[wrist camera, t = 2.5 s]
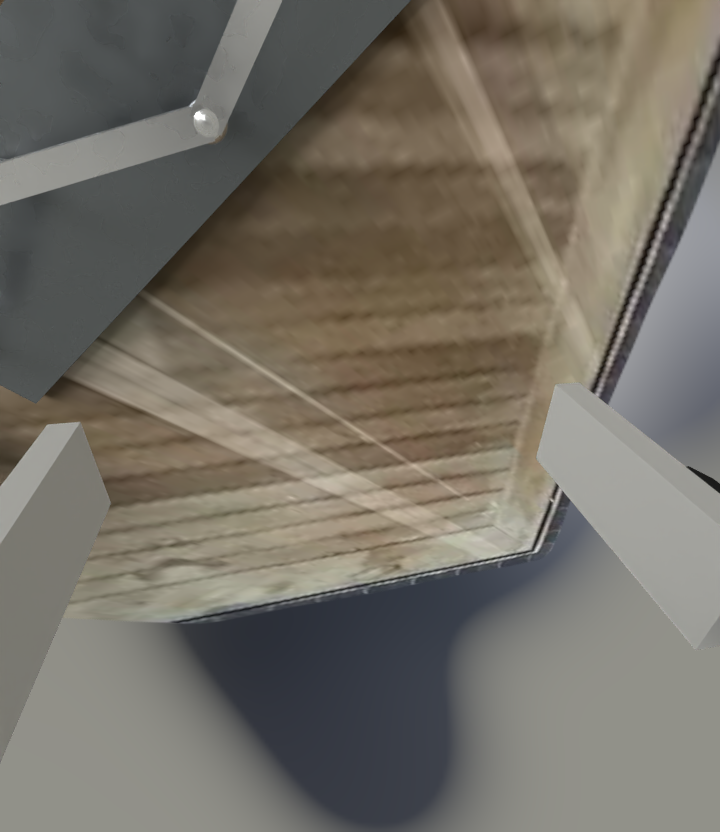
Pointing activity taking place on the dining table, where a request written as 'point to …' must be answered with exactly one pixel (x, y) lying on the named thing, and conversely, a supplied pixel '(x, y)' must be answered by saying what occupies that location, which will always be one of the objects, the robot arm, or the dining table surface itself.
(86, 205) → the grey platform with railing
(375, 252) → the dining table surface
